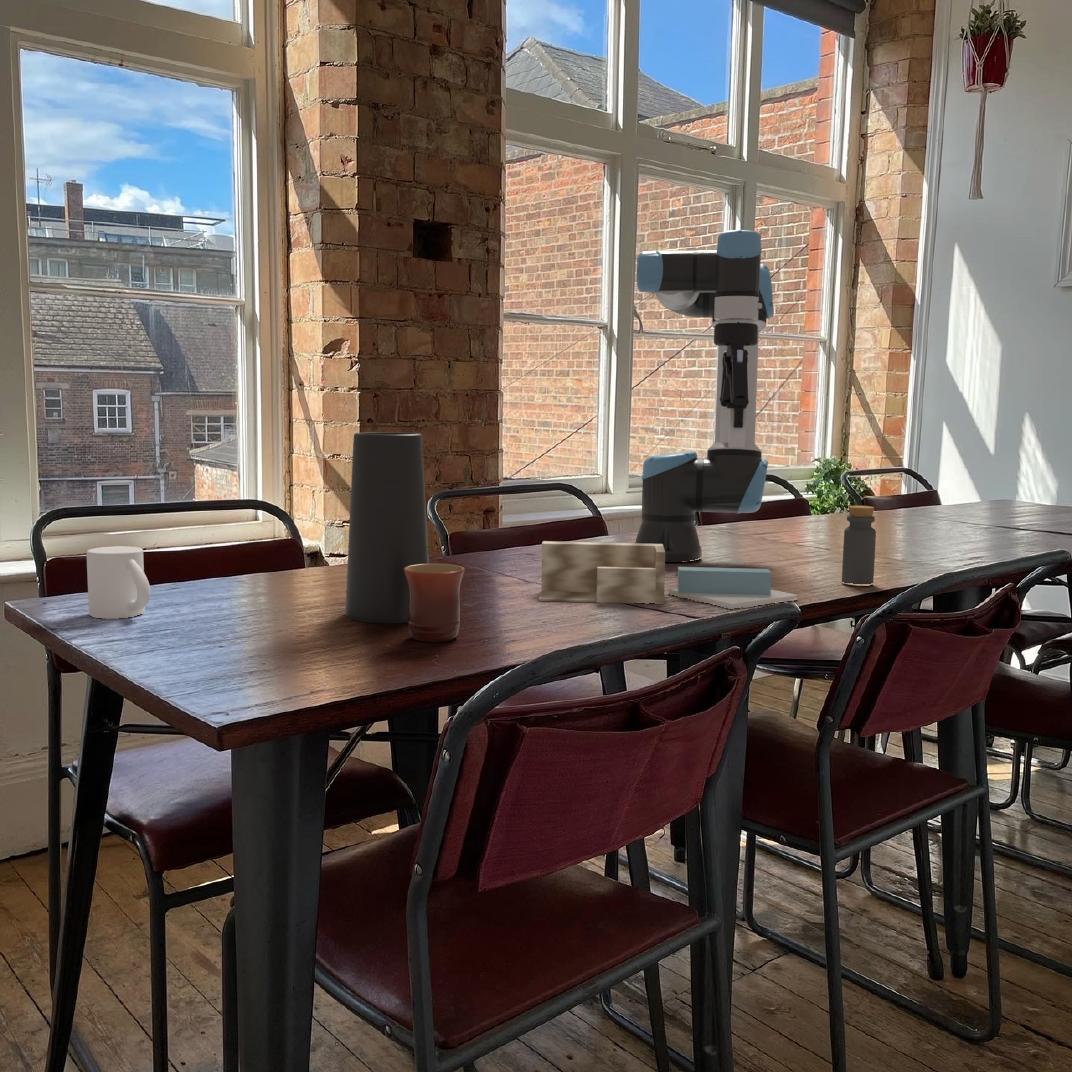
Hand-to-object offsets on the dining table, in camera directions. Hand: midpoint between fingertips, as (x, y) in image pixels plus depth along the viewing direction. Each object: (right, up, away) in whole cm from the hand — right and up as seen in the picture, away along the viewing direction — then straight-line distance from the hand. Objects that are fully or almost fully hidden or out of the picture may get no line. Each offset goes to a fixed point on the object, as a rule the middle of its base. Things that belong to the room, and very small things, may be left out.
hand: (731, 445), depth 191 cm
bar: (-1, -26, +1) cm, 26 cm away
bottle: (+27, -26, +16) cm, 41 cm away
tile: (0, -27, +1) cm, 27 cm away
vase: (-58, -29, -18) cm, 68 cm away
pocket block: (-23, -27, 0) cm, 35 cm away
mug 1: (-99, -29, -22) cm, 106 cm away
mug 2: (-50, -31, -33) cm, 67 cm away
